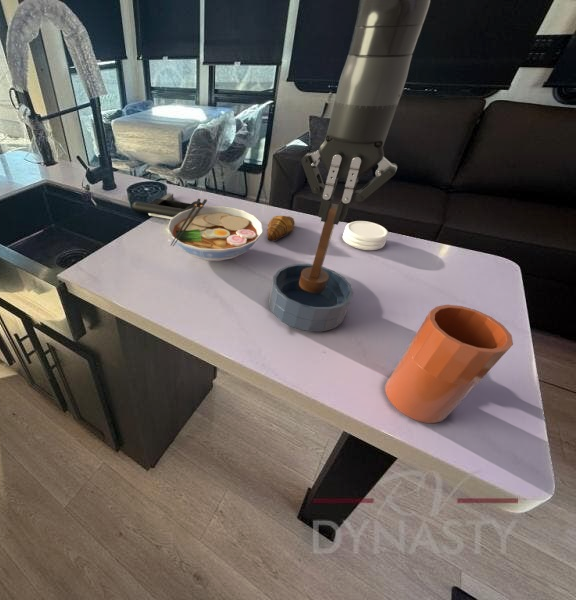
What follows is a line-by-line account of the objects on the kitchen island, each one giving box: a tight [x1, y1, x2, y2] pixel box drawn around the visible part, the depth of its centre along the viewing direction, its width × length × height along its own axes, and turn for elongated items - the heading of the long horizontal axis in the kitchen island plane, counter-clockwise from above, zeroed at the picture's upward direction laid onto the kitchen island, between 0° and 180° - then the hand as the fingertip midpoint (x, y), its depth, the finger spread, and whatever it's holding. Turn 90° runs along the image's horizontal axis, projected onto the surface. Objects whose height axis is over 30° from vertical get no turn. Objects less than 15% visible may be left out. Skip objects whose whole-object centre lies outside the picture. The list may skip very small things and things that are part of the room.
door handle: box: [131, 192, 202, 220], centre depth 103 cm, size 3×20×16 cm
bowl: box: [268, 263, 354, 332], centre depth 64 cm, size 14×14×6 cm
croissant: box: [266, 215, 296, 242], centre depth 88 cm, size 14×7×5 cm, turn 142°
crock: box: [384, 304, 514, 424], centre depth 45 cm, size 8×8×15 cm
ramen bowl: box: [167, 198, 264, 262], centre depth 81 cm, size 25×23×8 cm
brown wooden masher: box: [299, 203, 339, 293], centre depth 57 cm, size 5×5×16 cm
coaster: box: [342, 220, 390, 251], centre depth 84 cm, size 10×10×4 cm
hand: (330, 220), depth 54 cm, fingers closed on brown wooden masher, 1 cm apart
